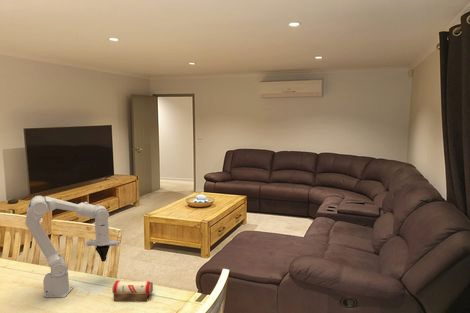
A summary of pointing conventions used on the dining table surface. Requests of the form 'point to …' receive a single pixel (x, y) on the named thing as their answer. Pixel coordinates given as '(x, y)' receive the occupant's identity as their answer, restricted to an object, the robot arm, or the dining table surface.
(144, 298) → the u rest
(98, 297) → the dining table surface
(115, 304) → the dining table surface
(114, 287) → the beer can
